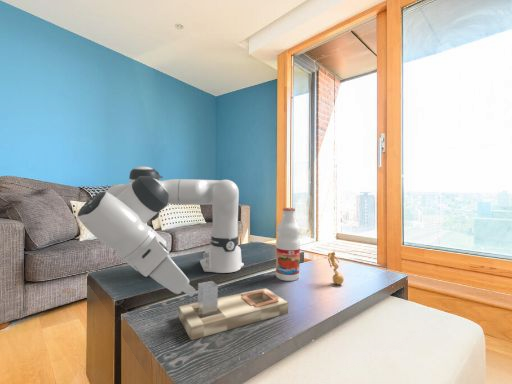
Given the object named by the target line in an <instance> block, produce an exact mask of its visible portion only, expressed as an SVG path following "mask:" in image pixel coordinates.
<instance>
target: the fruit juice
mask: <svg viewBox="0 0 512 384" xmlns="http://www.w3.org/2000/svg"><path fill="white" fill-rule="evenodd" d="M295 208H296V207H283V208H282V213H283V214H282V217H281V220H280V222H279V223H278V225H277V228H276V232H277V239H276V246H275V247H276V248H275V254H276V255H275V277H276V278H277V279H278V280H281V281H285V282H286V281H287V282H293V281H297V280H298V279H299V278H300V257H301V256H300V255H301V253H300V252H301V251H300V250H301V242H300V239H299V237H300V232H301V228H300V226H299V224H298V222H297V219H296V216H295V213H296V209H295Z"/></svg>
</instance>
